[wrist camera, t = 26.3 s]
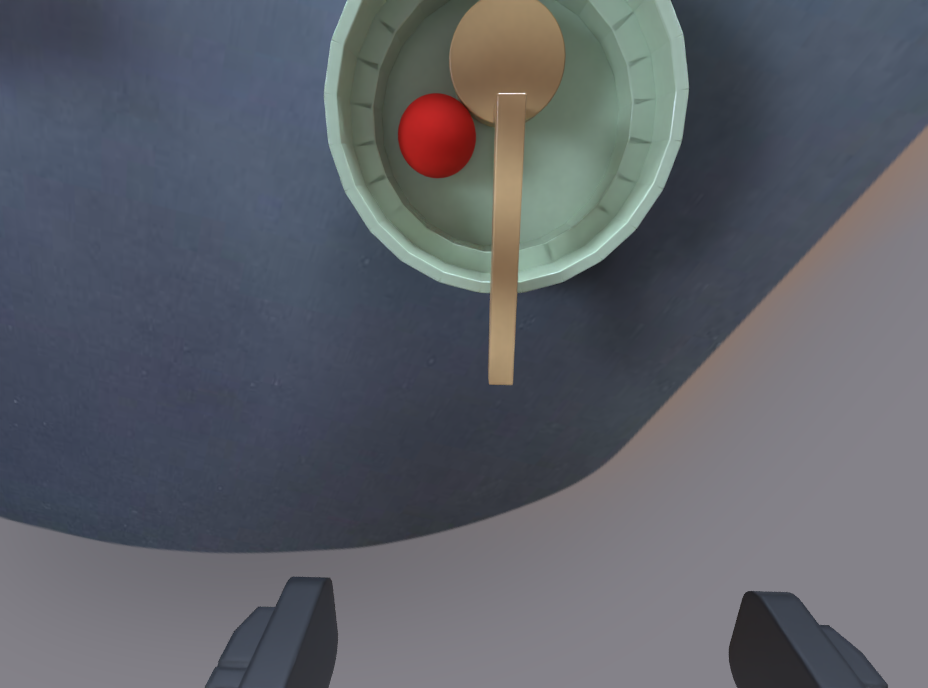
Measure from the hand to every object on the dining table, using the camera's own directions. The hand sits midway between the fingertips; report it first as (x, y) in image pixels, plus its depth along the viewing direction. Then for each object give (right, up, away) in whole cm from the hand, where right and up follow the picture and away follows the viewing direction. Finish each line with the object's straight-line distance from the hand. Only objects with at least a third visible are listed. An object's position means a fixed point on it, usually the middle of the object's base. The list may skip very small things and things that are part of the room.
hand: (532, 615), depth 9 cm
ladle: (+1, +14, +18) cm, 23 cm away
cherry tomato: (-3, +16, +15) cm, 22 cm away
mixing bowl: (+1, +17, +17) cm, 24 cm away
